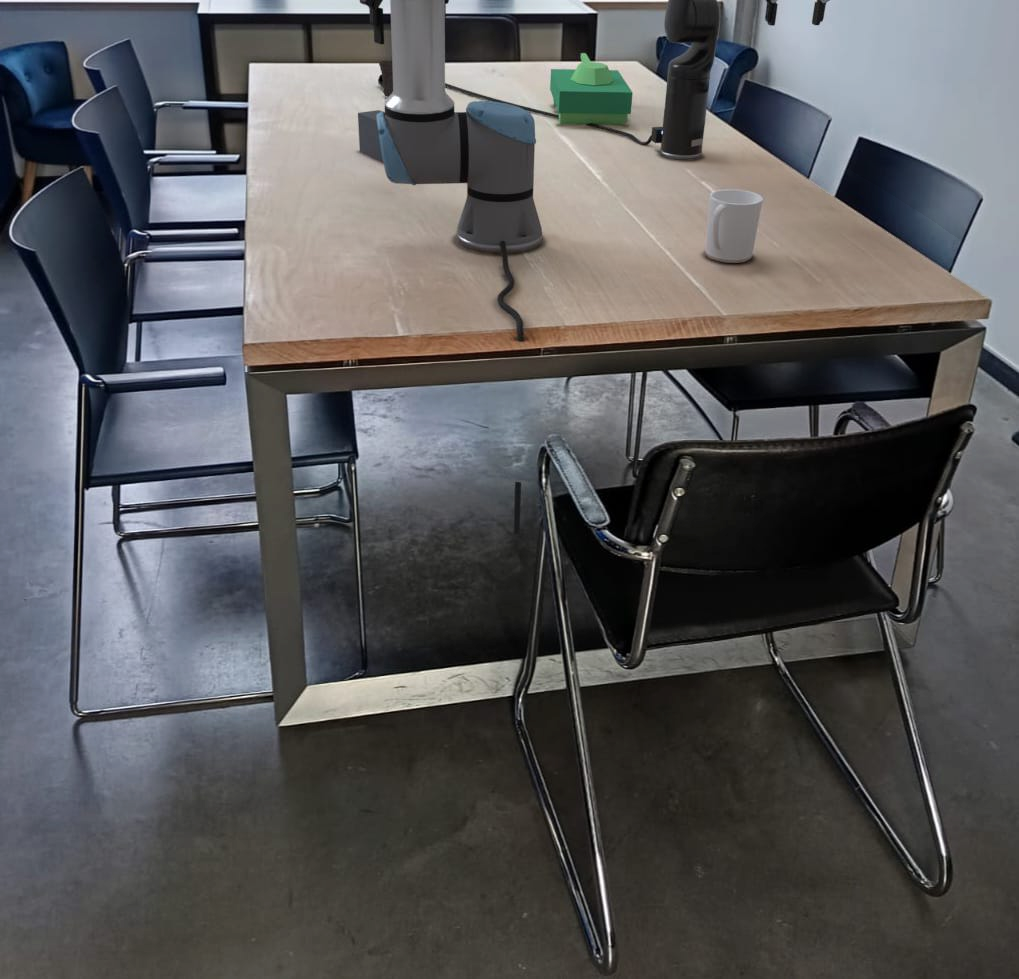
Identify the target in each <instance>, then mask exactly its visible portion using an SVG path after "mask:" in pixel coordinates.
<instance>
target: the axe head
mask: <svg viewBox="0 0 1019 979" xmlns="http://www.w3.org/2000/svg"><path fill="white" fill-rule="evenodd" d="M378 66H379V68H380V72H381V74H379V75H378V79H377V84H378V85H379V86H380V87H381V88H382V89H383V95H384V96H385V97H387V98H388V97H389V96H390V95H391V94H392V92H393V67H392V60H388V59H387V60H380V61H379V62H378Z"/></svg>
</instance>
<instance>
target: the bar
mask: <svg viewBox="0 0 1019 979" xmlns="http://www.w3.org/2000/svg"><path fill="white" fill-rule="evenodd" d="M380 112H384V111H382V110H380V109H377V110H370V111H360V112H357V121H358V122H357V123H358V125H357V126H358V145H359V152H360V153H362V154H364V155H366V156H368V157H371V159H375V160H376V161H378V162H381V163H383V164H384V162H383V157H382V151H381V145H380V138H379V131H378V126H377V118H376V116H377V114H378V113H380Z"/></svg>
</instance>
